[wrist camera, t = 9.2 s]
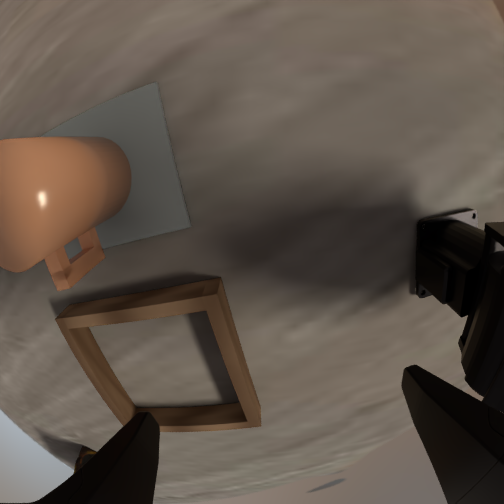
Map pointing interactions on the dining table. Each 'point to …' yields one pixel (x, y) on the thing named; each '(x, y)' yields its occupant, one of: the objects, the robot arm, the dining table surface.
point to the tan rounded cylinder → (58, 201)
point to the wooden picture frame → (156, 306)
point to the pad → (135, 166)
